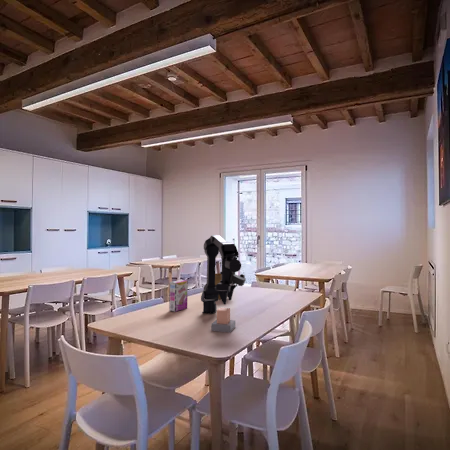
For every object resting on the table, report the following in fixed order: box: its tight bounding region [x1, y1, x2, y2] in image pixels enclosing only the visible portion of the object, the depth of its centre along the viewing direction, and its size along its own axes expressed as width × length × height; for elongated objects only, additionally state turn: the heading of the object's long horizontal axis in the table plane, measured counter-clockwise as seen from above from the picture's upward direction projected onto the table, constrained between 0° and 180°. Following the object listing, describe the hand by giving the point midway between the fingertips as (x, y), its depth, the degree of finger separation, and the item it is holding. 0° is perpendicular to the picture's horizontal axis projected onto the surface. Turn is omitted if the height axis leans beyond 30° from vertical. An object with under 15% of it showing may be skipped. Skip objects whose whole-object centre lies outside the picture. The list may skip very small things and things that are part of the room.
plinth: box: [210, 319, 236, 333], centre depth 154 cm, size 9×9×3 cm
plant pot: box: [215, 272, 228, 300], centre depth 222 cm, size 15×15×16 cm
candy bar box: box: [168, 279, 189, 313], centre depth 191 cm, size 11×5×16 cm, turn 149°
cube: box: [216, 307, 231, 324], centre depth 154 cm, size 5×5×6 cm
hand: (227, 302), depth 157 cm, fingers open, 9 cm apart
